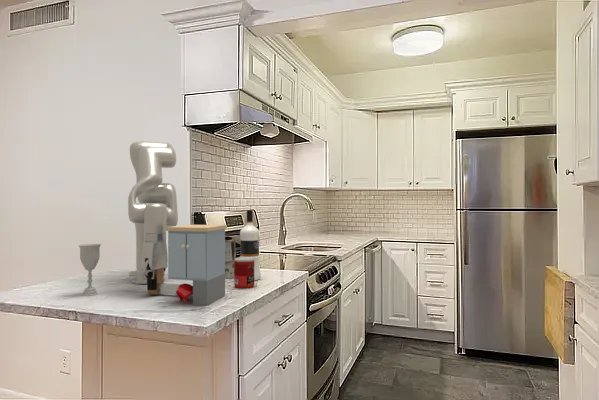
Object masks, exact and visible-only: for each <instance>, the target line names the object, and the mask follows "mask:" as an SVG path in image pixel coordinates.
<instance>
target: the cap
mask: <svg viewBox="0 0 599 400" xmlns="http://www.w3.org/2000/svg"><path fill="white" fill-rule="evenodd" d="M180 284H181V285H179V286H178V290H177V291H176V294H177V295H176V296H177V297H178V298H179V301H181V302H182V301H183V300H184V302H185V303H186V304H188V303H189V300H188V298H189V297H191V296H193V284H190V283H180Z"/></svg>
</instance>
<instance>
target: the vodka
mask: <svg viewBox="0 0 599 400" xmlns="http://www.w3.org/2000/svg"><path fill="white" fill-rule="evenodd" d="M253 212H254V211H253V210H252V209H247V210H246V225H245V226H244V227H242V228H241V229H240V231H239V236H240V238H239V239H240V256H239V258H254V282H256V281H259V280H260V279H261V278H262V276H261V275H262V274H261V270H260V230H259V228H257V227H256V226H255V225H254V222H253V217H254V216H253V215H254V214H253Z"/></svg>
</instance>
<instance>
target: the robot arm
mask: <svg viewBox="0 0 599 400" xmlns="http://www.w3.org/2000/svg"><path fill="white" fill-rule="evenodd" d="M129 159H130V162H131V164H132V166H133V169H134V171H135V176H136V178H135V179H136V183H135V184H134V186H133V187H132V188H131V190H130V192H129V195H128V199H127V207H128V208H127V212H128V215H127V216H128V219H129V221H130V222H131V223H133V224H134V227H135V242H136V243H135V244H136V245H135V247H136V248H135V250H136V252H135V256H136V257H135V261H136V262H135V265H136V266H135V270H131V271H130V272H129V273H128V276H129V277H133V279H132V284H135V285H146V291H147V290H156V279H154V278H155V270H157V269H160V268H164V276H165V272H166V270H167V269H168V243H167V231H166V227H172V226H178V222H179V215H178V202H177V201H178V200H177V199H178V198H177V191H176V187H175V185H174V184H172V183H169V182H163V173H162V172H163V171H162V169H163V168H164V169H166V168H167V169H171V168H175V166H176V165H177V164H176V163H177V155H176V151H175V149H174V147H173V145H172V144H171V143H170V142H162V141H161V142H160V141H142V140H141V141H134V142H132V143H130V146H129ZM137 201H138V202H137ZM150 268H151V270H150ZM150 272H152V274H151V273H150Z"/></svg>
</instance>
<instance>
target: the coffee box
mask: <svg viewBox="0 0 599 400" xmlns="http://www.w3.org/2000/svg"><path fill="white" fill-rule="evenodd" d="M236 252H237V251H236V239H225V279H234V259H236V258H237V257H236Z"/></svg>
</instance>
